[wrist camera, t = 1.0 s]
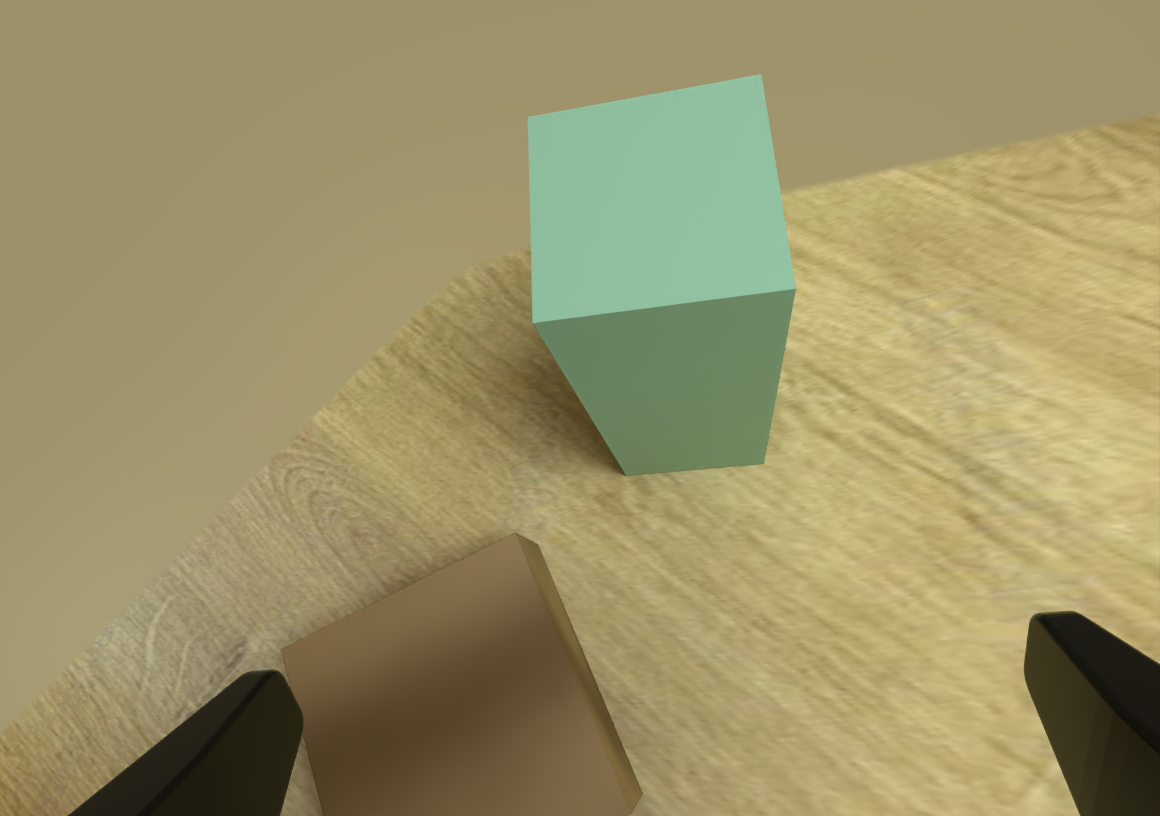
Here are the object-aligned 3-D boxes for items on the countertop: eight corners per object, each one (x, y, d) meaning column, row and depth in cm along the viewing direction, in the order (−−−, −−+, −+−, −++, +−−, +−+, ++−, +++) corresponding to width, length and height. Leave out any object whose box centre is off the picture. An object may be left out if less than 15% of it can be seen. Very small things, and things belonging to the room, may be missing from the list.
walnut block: (644, 791, 21) (630, 814, 18) (406, 904, 21) (357, 944, 18) (540, 545, 24) (515, 532, 21) (333, 648, 24) (281, 649, 21)
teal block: (763, 463, 23) (796, 288, 12) (626, 475, 24) (532, 323, 12) (747, 336, 24) (761, 74, 13) (618, 352, 25) (528, 117, 14)
